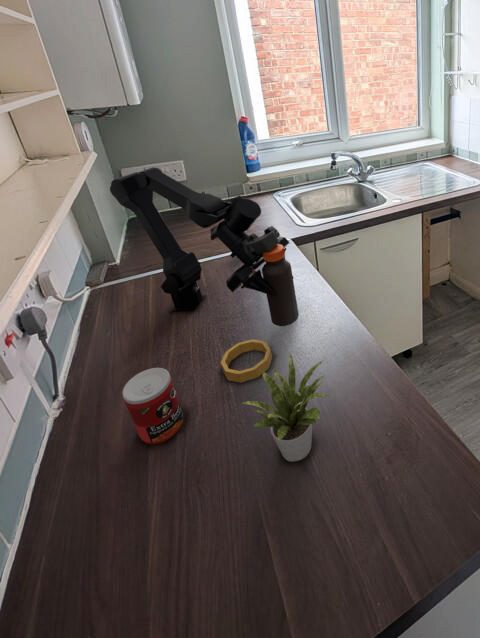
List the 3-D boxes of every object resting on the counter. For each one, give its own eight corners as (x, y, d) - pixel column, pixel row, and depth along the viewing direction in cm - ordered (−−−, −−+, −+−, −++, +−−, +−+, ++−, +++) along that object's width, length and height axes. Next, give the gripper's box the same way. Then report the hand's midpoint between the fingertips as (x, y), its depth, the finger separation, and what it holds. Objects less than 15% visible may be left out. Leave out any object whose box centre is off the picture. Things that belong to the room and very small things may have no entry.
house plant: (354, 418, 76) (346, 350, 70) (328, 493, 63) (315, 419, 57) (285, 407, 79) (271, 341, 73) (247, 476, 67) (227, 404, 60)
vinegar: (266, 319, 101) (252, 249, 93) (288, 306, 106) (277, 239, 98) (281, 331, 97) (268, 258, 89) (304, 317, 101) (293, 247, 94)
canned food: (155, 453, 72) (136, 408, 67) (131, 433, 76) (112, 389, 71) (193, 420, 78) (179, 377, 73) (169, 403, 82) (154, 361, 77)
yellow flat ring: (217, 384, 86) (214, 375, 85) (233, 349, 95) (230, 340, 94) (264, 381, 86) (262, 372, 85) (275, 346, 95) (274, 337, 94)
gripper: (226, 240, 84) (278, 293, 85) (277, 206, 100) (321, 251, 101) (205, 267, 90) (254, 316, 91) (257, 231, 106) (298, 273, 107)
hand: (284, 287), depth 97 cm, fingers closed on vinegar, 7 cm apart
